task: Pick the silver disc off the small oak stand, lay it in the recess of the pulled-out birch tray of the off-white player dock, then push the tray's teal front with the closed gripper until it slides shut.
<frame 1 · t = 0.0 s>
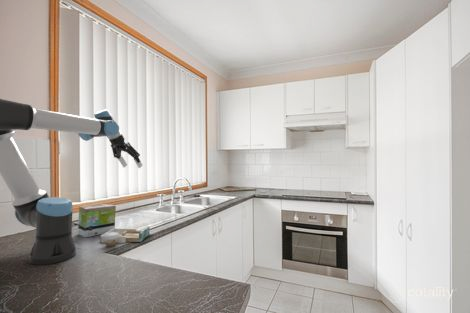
hand: (132, 166, 146), 36 cm above the countertop, tool tilted 35°, fingers open, 13 cm apart
tray: (133, 233, 122), point 2 cm above the countertop, slide at 6.0 cm
stand: (110, 245, 111), on the countertop
dock: (120, 238, 122), on the countertop
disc: (110, 238, 111), point 3 cm above the countertop, touching stand
tea box: (96, 233, 130), on the countertop
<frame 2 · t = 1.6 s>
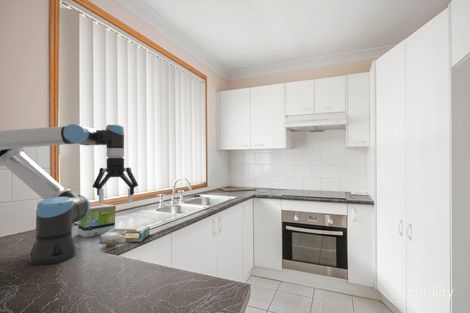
hand: (115, 202, 114), 20 cm above the countertop, tool pointing down, fingers open, 13 cm apart
nothing on the countertop moved.
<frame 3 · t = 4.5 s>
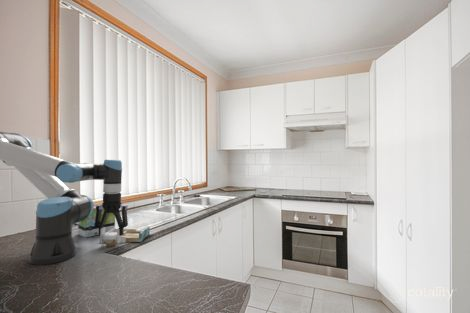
hand: (110, 242, 111), 2 cm above the countertop, tool pointing down, fingers closed on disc, 7 cm apart
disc: (110, 238, 111), point 3 cm above the countertop, touching gripper, stand
everything else where it was.
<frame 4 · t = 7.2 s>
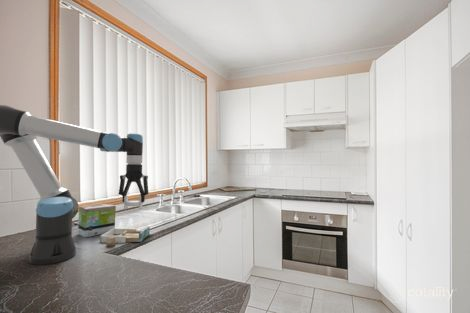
hand: (133, 208, 122), 15 cm above the countertop, tool pointing down, fingers closed on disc, 7 cm apart
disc: (133, 204, 122), point 17 cm above the countertop, touching gripper
everything else where it was.
when the fingers open (2 cm above the countertop, at t = 9.9 s): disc drops 3 cm, resting on tray.
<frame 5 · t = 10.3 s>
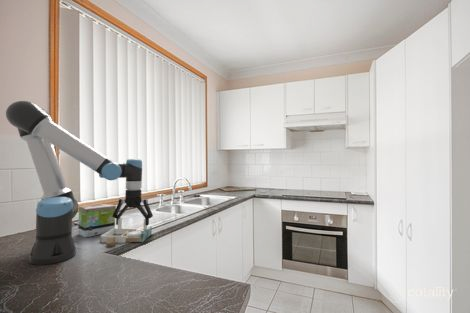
hand: (132, 231, 122), 3 cm above the countertop, tool pointing down, fingers open, 12 cm apart
tray: (135, 233, 122), point 2 cm above the countertop, slide at 7.1 cm, touching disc, gripper
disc: (134, 236, 122), point 1 cm above the countertop, touching tray
everything else where it was.
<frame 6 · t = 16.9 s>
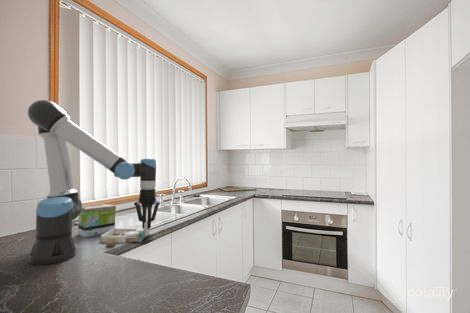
hand: (146, 234, 122), 2 cm above the countertop, tool pointing down, fingers closed
tray: (132, 233, 122), point 2 cm above the countertop, slide at 5.9 cm, touching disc, gripper
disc: (131, 236, 122), point 1 cm above the countertop, touching tray
everything else where it was.
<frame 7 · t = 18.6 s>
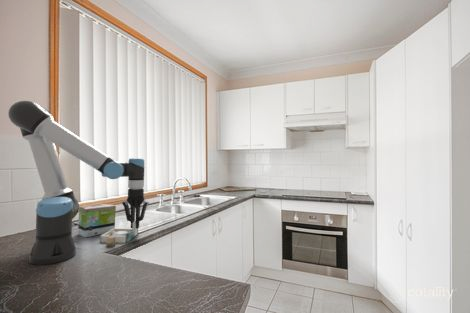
hand: (134, 234, 122), 2 cm above the countertop, tool pointing down, fingers closed
tray: (121, 233, 122), point 2 cm above the countertop, slide at 0.0 cm, touching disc, gripper
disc: (120, 236, 122), point 1 cm above the countertop, touching tray
everything else where it was.
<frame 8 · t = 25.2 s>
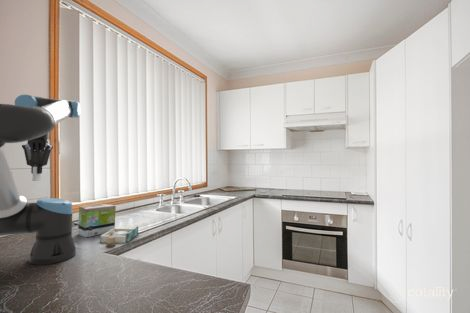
hand: (36, 180, 112), 29 cm above the countertop, tool pointing down, fingers closed
tray: (121, 233, 122), point 2 cm above the countertop, slide at 0.0 cm, touching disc
everything else where it was.
at the end: tray slide at 0.0 cm; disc inside the target area on the dock (0.2 cm from its centre), point 1.0 cm above the dock's base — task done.
